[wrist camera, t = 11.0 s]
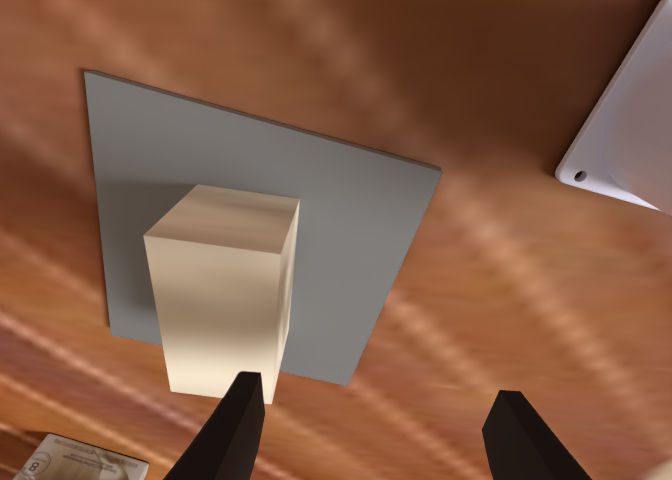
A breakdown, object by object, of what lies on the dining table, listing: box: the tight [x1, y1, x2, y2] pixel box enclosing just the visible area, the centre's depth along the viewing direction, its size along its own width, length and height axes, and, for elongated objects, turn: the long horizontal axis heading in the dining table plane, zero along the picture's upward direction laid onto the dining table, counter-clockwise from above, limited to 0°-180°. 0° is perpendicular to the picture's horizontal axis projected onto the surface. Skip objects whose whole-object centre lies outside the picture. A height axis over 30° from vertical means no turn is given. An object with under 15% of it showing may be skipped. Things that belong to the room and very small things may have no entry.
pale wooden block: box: [143, 184, 300, 404], centre depth 17 cm, size 9×5×5 cm, turn 172°
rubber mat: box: [84, 70, 443, 386], centre depth 20 cm, size 16×16×1 cm
